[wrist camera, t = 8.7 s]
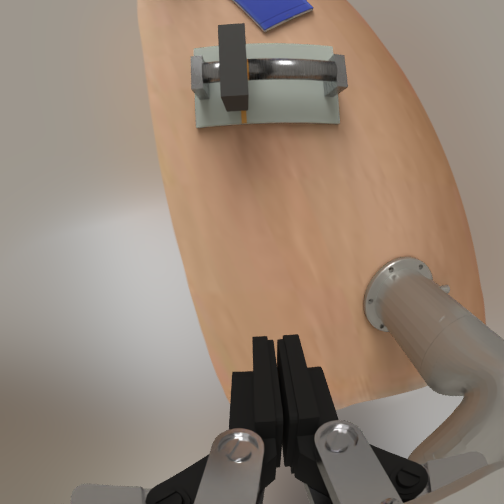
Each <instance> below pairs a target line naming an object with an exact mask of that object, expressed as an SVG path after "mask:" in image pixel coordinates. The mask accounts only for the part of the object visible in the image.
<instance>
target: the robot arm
mask: <svg viewBox="0 0 504 504" xmlns="http://www.w3.org/2000/svg"><path fill="white" fill-rule="evenodd" d="M449 291H450V287H449V285H442V286H439V285H438V284H437V283H435V282H434V281H433V277H432V274H431V271H430V270H429V268H428V267H427V265H426V264H425V263H423V262H422V261H420V260H419V259H416V258H414V257H400V258H397V259H394V260H392V261H390V262H388V263H387V264H385V265H384V266H383V267H381V268H380V269H379V271H378V272H377V273H376V274H375V275H374V276H373V278H372V279H371V281H370V283H369V285H368V287H367V289H366V292H365V296H364V311H365V315H366V317H367V319H368V320H369V322H370V323H371V325H373V326H374V327H375V328H376V329H378V330H380V331H385V332H390V333H391V335H392V336H393V337H394V339H395V340H396V341H397V343H398V344H399V345H400V347H401V348H402V350H403V351H404V352H405V354H406V355H407V356H408V358H409V359H410V361H411V362H412V363H413V365H414V366H415V368H416V369H417V371H418V372H419V373H420V375H421V376H422V378H423V379H424V380H425V382H426V383H427V385H428V386H429V387H430V388H431V389H432V390H433V391H435V392H437V393H439V394H442V395H448V396H464V398H463V400H462V402H461V403H460V405H459V406H458V407H457V408H456V409H455V410H454V412H453V413H452V414H451V415H450V416H449V417H448V418H447V419H446V420H445V421H444V422H443V423H442V424H441V425H440V426H439V427H438V428H437V429H436V430H435V431H434V432H433V433H432V434H431V435H430V436H428V437H427V438H426V439H425V440H424V441H423V442H422V443H421V444H420V445H419V446H418V447H417V448H416V449H415V450H414V451H413V452H412V453H411V455H410V456H409V457H408V459H406V458H403V457H400V456H398V455H395V454H392V453H390V452H387V451H385V450H382V449H380V448H377V447H375V446H373V445H370V444H369V443H368V441H367V440H366V438H365V436H364V435H363V433H362V431H361V430H360V429H359V428H358V426H356V425H355V424H353V423H351V422H348V421H345V420H338V417H337V414H336V410H335V407H334V404H333V401H332V398H331V395H330V391H329V388H328V385H327V382H326V379H325V376H324V373H323V370H322V368H321V367H311V368H307V365H306V361H305V358H304V354H303V350H302V346H301V343H300V339H299V336H298V334H297V335H283V339H278V341H277V364H276V357H275V349H274V342H273V340H268V339H267V336H262V337H253V371H248V372H233V373H232V387H231V403H230V419H229V430H226V431H225V432H223V433H221V434H220V435H218V436H217V437H216V438H215V440H214V442H213V444H212V447H211V451H210V454H209V455H207V456H206V457H204V458H202V459H201V460H199V461H198V462H196V463H195V464H193V465H191V466H190V467H188V468H186V469H185V470H183V471H182V472H180V473H178V474H176V475H175V476H173V477H171V478H170V479H168V480H166V481H164V482H162V483H160V484H159V485H157V486H155V487H154V488H152V489H143V488H142V487H129V486H109V485H98V484H81V485H79V486H77V487H76V488H75V489H74V490H73V492H72V496H71V504H263V498H264V491H265V487H267V486H268V485H269V484H270V483H271V482H272V481H274V480H275V475H276V467H280V460H281V449H282V447H283V457H284V465H285V467H287V466H290V467H291V473H294V474H295V478H297V479H298V480H300V481H302V482H303V483H304V487H305V490H306V493H307V496H308V499H309V501H310V504H504V340H503V339H502V338H501V337H500V336H498V335H497V334H496V333H495V332H494V331H492V330H491V329H490V328H489V327H487V326H486V325H485V324H484V323H483V322H482V321H480V320H479V319H478V318H477V317H475V316H474V315H473V314H472V313H471V312H469V311H468V310H467V309H466V308H464V307H463V306H462V305H461V304H460V303H458V302H457V301H456V300H455V299H453V298H452V297H451V296H450V295H448V294H447V293H449Z"/></svg>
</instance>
